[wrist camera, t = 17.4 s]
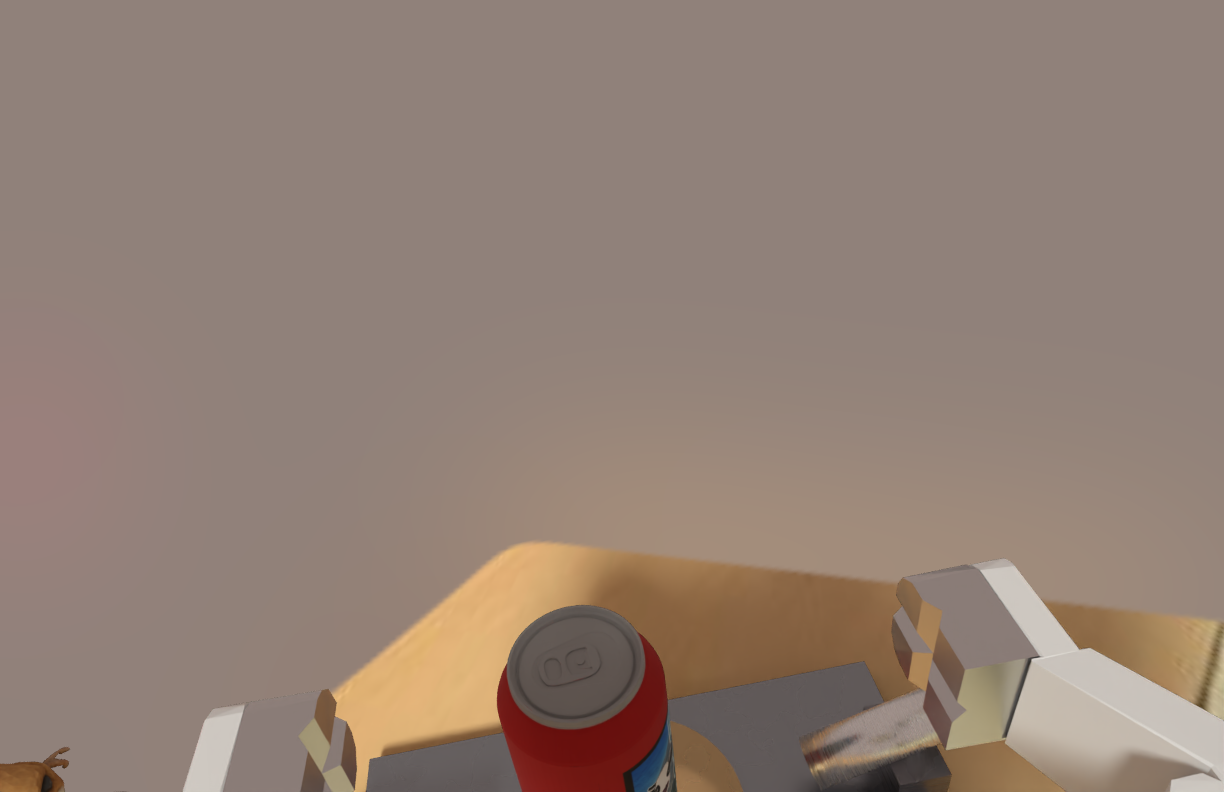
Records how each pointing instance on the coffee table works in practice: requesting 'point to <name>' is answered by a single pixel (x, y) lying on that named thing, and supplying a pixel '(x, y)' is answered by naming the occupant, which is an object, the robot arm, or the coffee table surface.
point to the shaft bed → (738, 743)
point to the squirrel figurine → (33, 775)
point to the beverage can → (586, 706)
